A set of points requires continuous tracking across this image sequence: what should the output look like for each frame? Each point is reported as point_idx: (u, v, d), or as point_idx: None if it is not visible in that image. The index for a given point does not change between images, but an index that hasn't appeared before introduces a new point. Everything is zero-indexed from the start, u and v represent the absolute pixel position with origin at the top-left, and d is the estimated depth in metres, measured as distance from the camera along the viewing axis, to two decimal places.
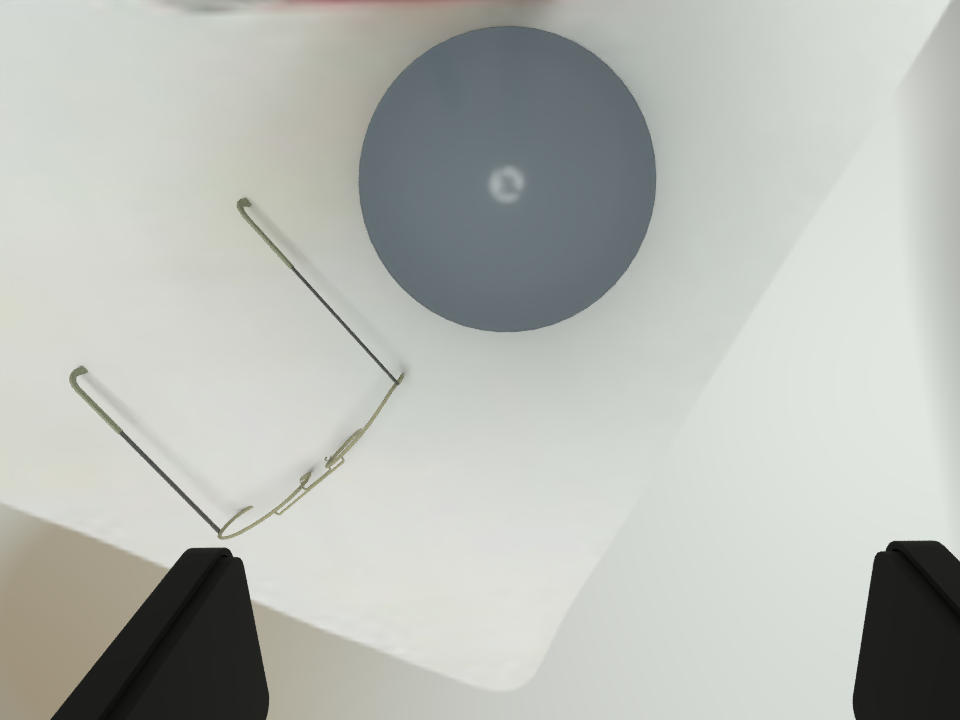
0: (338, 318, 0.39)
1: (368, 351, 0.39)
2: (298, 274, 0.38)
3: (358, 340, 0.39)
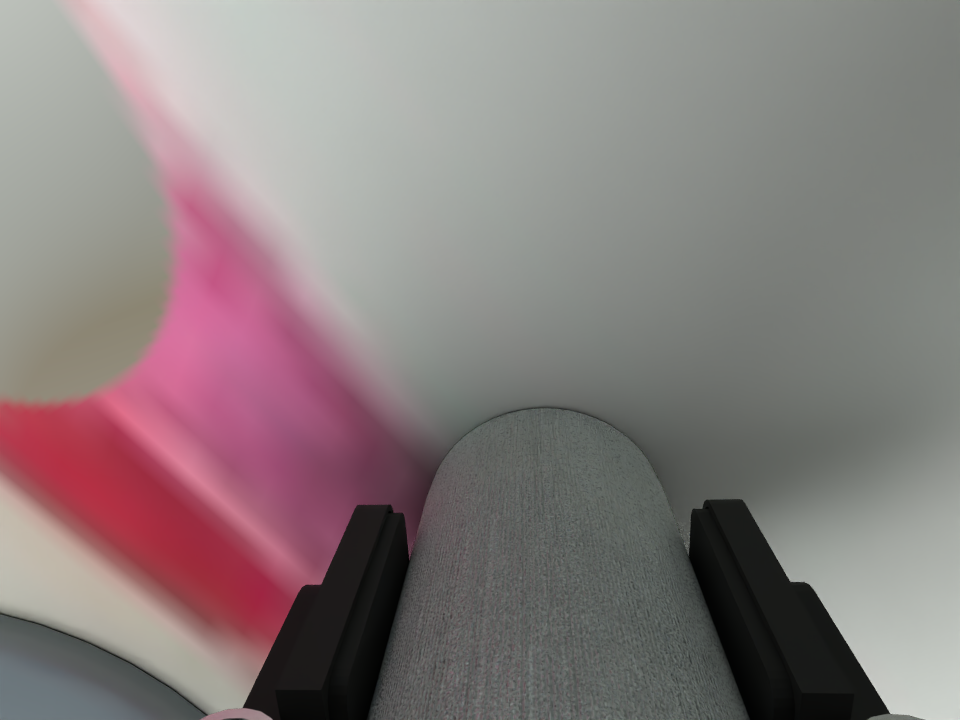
0: None
1: None
2: None
3: None
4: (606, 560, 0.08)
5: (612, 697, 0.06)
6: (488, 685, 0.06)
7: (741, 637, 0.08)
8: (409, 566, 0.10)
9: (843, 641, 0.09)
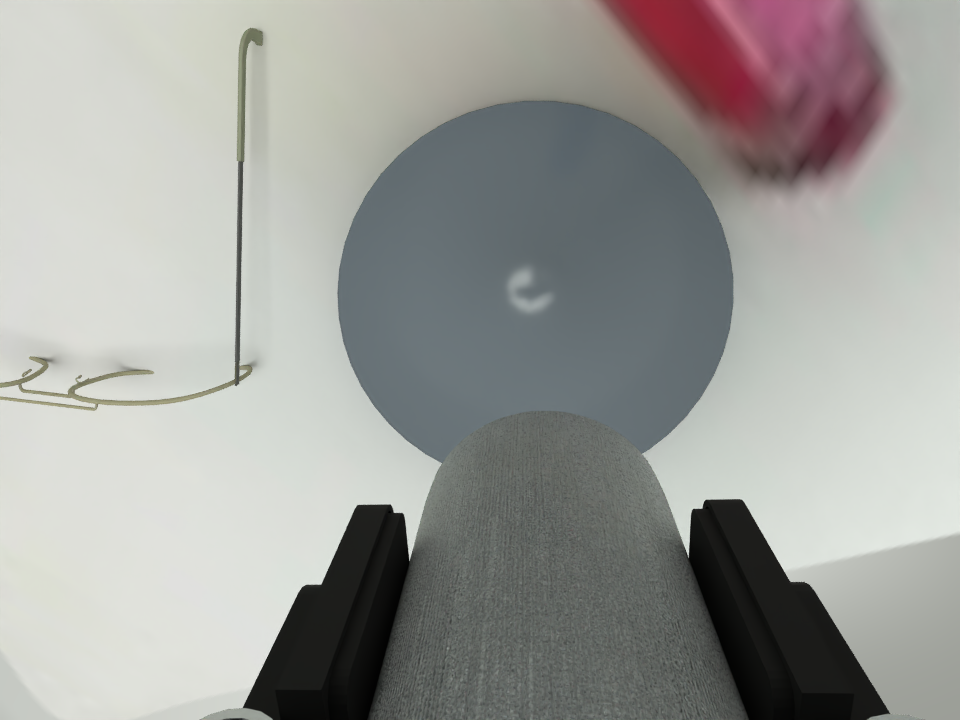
0: (239, 261, 0.27)
1: (238, 323, 0.27)
2: (240, 175, 0.26)
3: (238, 303, 0.27)
4: (606, 564, 0.08)
5: (613, 704, 0.06)
6: (488, 692, 0.06)
7: (741, 637, 0.08)
8: (409, 570, 0.10)
9: (843, 641, 0.09)
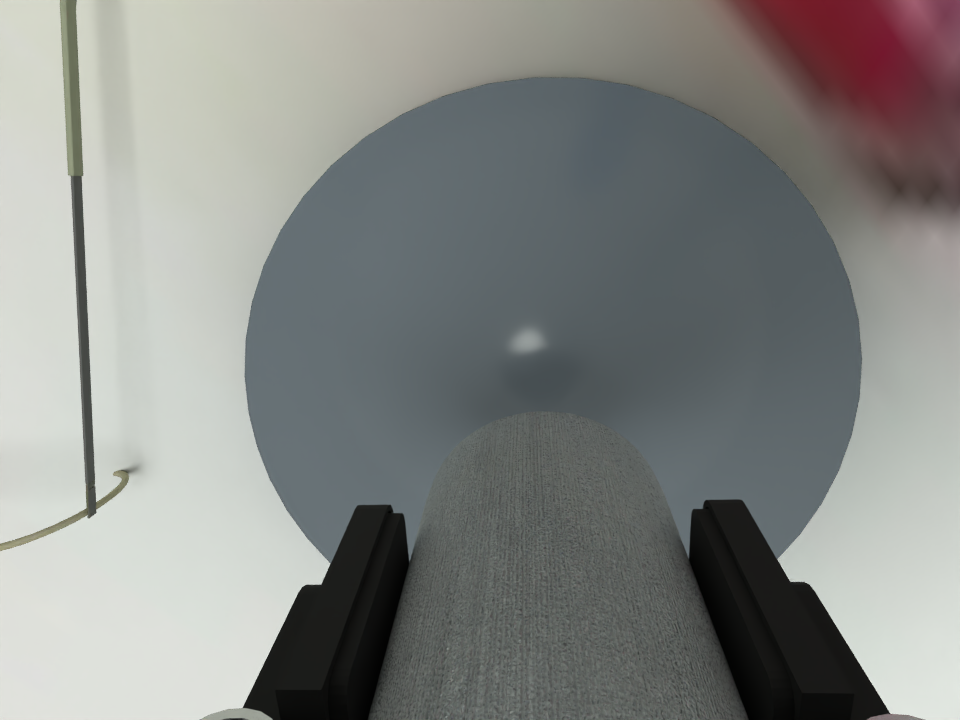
0: (83, 332, 0.17)
1: (87, 426, 0.18)
2: (76, 198, 0.16)
3: (86, 395, 0.17)
4: (606, 565, 0.08)
5: (613, 705, 0.06)
6: (488, 694, 0.06)
7: (741, 637, 0.08)
8: (408, 570, 0.10)
9: (843, 641, 0.09)
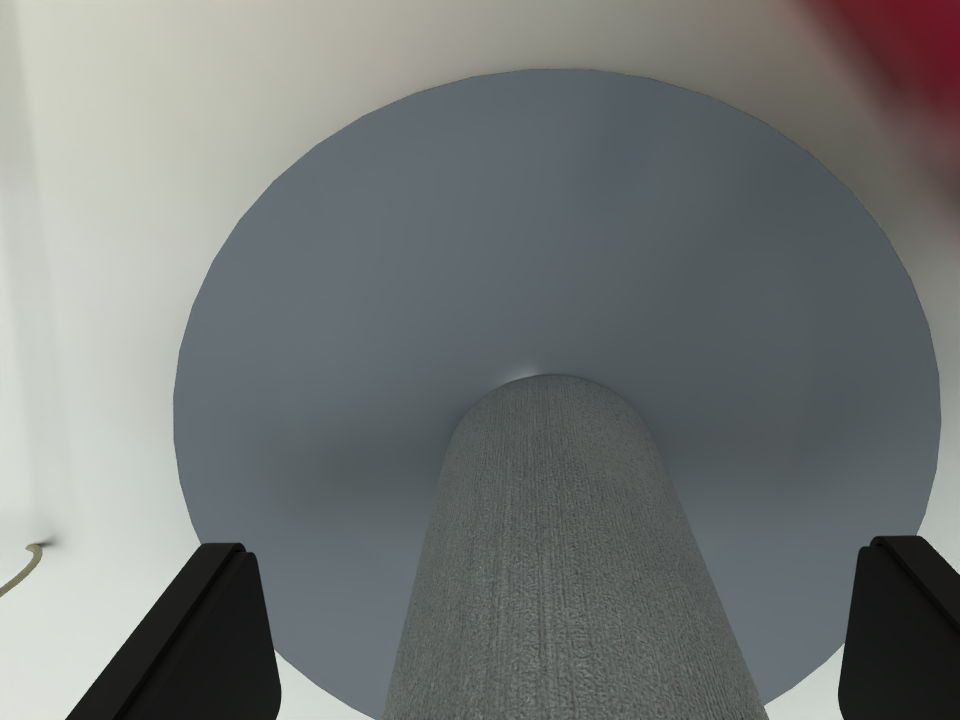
0: None
1: None
2: None
3: None
4: (607, 492, 0.09)
5: (613, 587, 0.07)
6: (511, 582, 0.08)
7: None
8: (433, 509, 0.11)
9: None
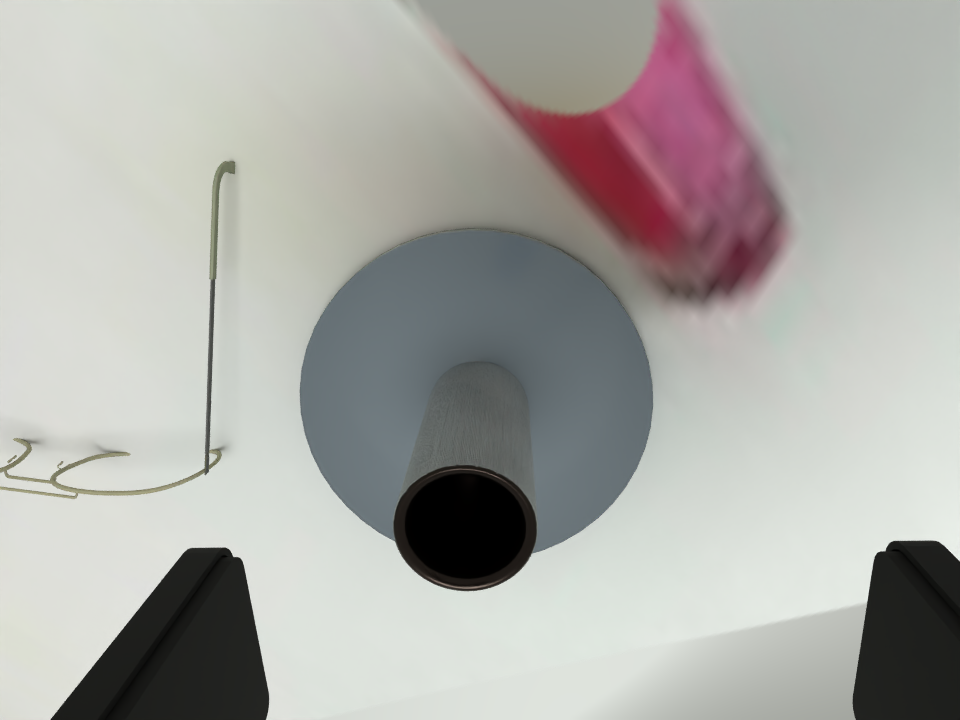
0: (210, 365, 0.30)
1: (208, 420, 0.30)
2: (212, 291, 0.29)
3: (208, 402, 0.30)
4: (489, 399, 0.26)
5: (482, 419, 0.24)
6: (451, 419, 0.24)
7: None
8: (424, 413, 0.28)
9: None
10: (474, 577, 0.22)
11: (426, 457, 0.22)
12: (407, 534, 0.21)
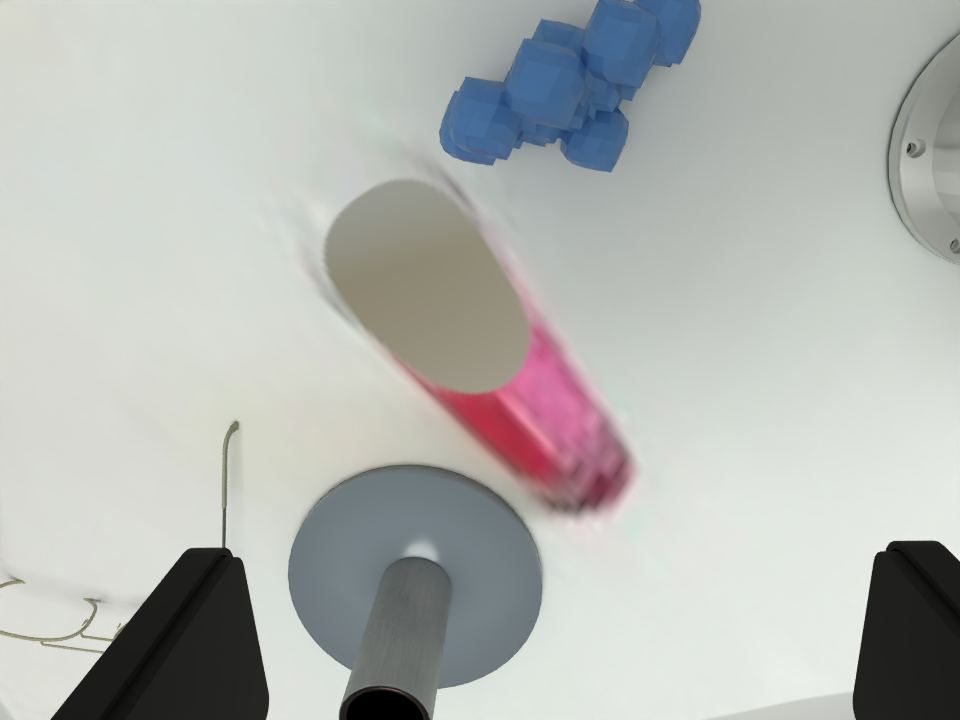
0: None
1: None
2: (224, 515, 0.41)
3: None
4: (412, 607, 0.38)
5: (403, 633, 0.36)
6: (382, 631, 0.36)
7: None
8: (372, 606, 0.40)
9: None
10: None
11: (361, 671, 0.34)
12: None
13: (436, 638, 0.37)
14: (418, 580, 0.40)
